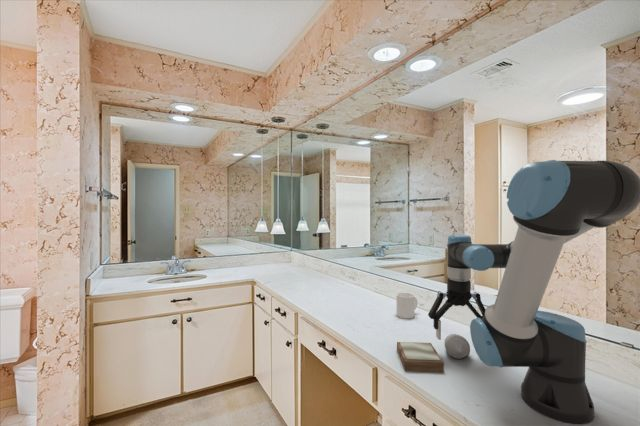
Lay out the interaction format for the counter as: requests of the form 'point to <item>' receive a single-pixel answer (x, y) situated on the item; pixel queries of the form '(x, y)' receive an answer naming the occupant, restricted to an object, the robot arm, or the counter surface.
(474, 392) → the counter surface
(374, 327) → the counter surface
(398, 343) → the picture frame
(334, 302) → the counter surface
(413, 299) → the mug
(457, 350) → the seashell
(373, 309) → the counter surface
